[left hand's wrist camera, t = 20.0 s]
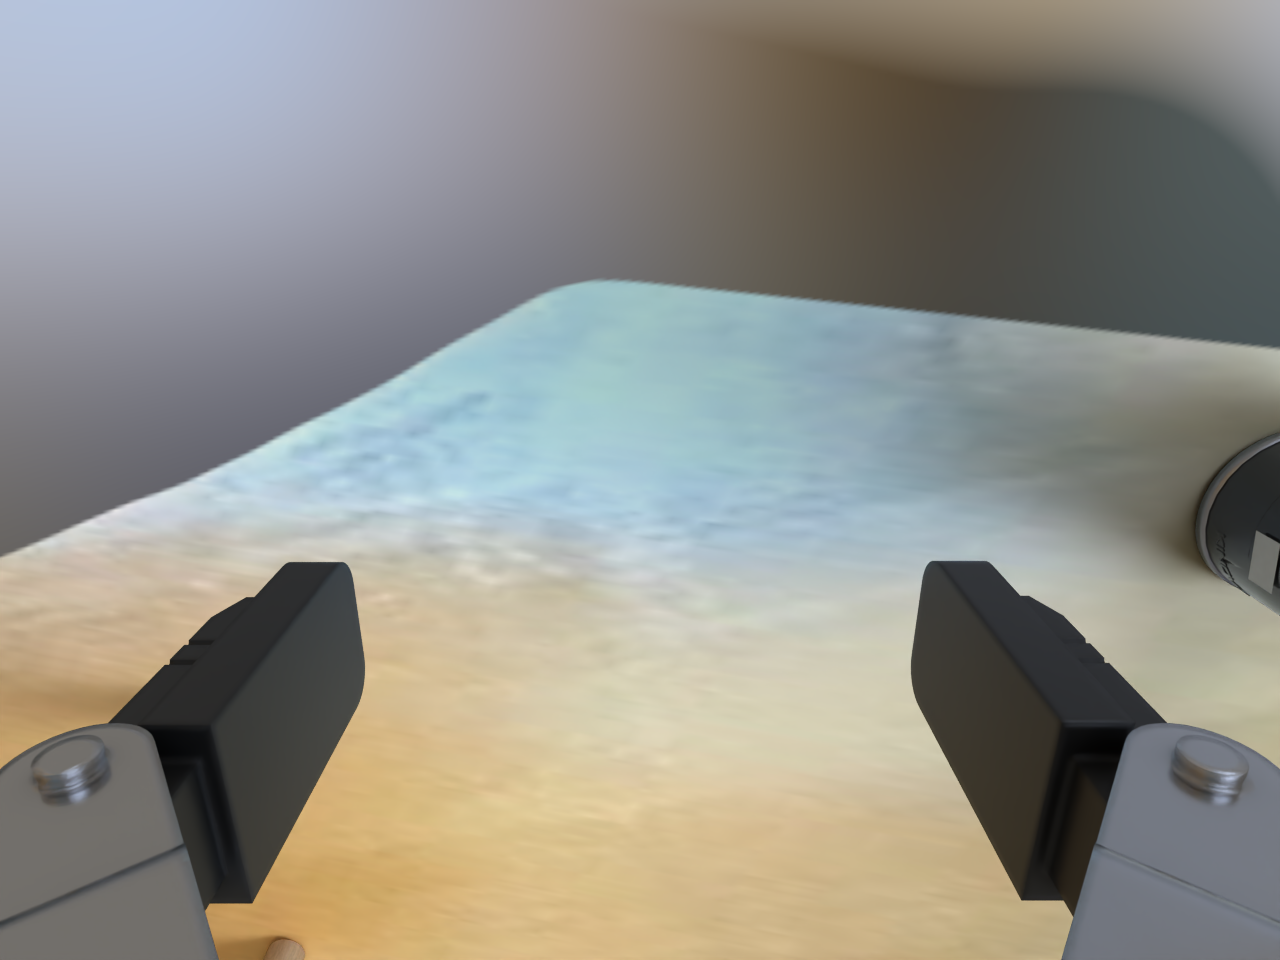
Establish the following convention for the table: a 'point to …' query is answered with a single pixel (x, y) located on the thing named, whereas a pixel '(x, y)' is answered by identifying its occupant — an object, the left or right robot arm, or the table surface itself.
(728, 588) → the table surface
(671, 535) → the table surface
